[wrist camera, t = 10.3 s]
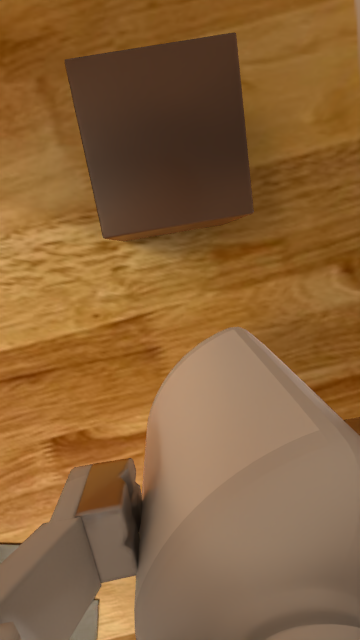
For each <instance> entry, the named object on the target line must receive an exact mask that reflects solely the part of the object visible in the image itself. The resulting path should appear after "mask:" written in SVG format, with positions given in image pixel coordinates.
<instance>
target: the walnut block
mask: <svg viewBox="0 0 360 640" xmlns="http://www.w3.org/2000/svg"><path fill="white" fill-rule="evenodd" d="M65 66H66V71H67V75H68V80H69V85H70V89H71V94H72V98H73V103H74V107H75V112H76V116H77V121H78V125H79V130H80V135H81V139H82V144H83V148H84V153H85V157H86V162H87V166H88V171H89V176H90V180H91V185H92V189H93V194H94V198H95V203H96V207H97V212H98V216H99V221H100V226H101V230H102V235H103V238H105V239H111V240H118V241H129V240H135V239H141V238H147V237H153V236H159V235H165V234H171V233H177V232H183V231H188V230H194V229H200V228H206V227H212V226H218V225H223V224H226V223H229V222H231V221H234V220H237V219H239V218H242V217H245V216H247V215H250V214H252V213H253V212H254V210H253V200H252V190H251V180H250V170H249V160H248V149H247V139H246V129H245V119H244V109H243V99H242V88H241V78H240V68H239V58H238V48H237V38H236V33H229V34H222V35H216V36H210V37H204V38H197V39H191V40H185V41H178V42H172V43H166V44H160V45H153V46H147V47H141V48H135V49H128V50H122V51H116V52H109V53H103V54H97V55H91V56H84V57H78V58H72V59H66V60H65Z"/></svg>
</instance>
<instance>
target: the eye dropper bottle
mask: <svg viewBox="0 0 360 640" xmlns="http://www.w3.org/2000/svg"><path fill="white" fill-rule="evenodd" d="M139 537H140V542H139V557H138V570H137V574H136V590H135V608H134V611H135V634H136V640H360V436H359V435H358V434H357V433H356V432H355V431H354V430H353V429H352V428H351V427H350V426H349V425H348V424H347V423H346V422H345V421H344V420H343V419H342V418H341V417H340V416H339V415H337V414H336V413H335V412H334V411H333V410H332V409H331V408H330V407H329V406H328V405H327V404H326V403H325V402H324V401H323V400H322V399H321V398H320V397H319V396H318V395H317V394H316V393H315V392H314V391H313V390H311V389H310V388H309V387H308V386H307V385H306V384H305V383H304V382H303V381H302V380H301V379H300V378H299V377H298V376H297V375H296V374H295V373H294V372H293V371H292V370H291V369H289V368H288V367H287V366H286V365H285V364H284V363H283V362H282V361H281V360H280V359H279V358H278V357H277V356H276V355H275V354H274V353H273V352H272V351H270V350H269V349H268V348H267V347H266V346H265V345H264V344H263V343H262V342H260V341H259V340H258V339H257V338H256V337H255V336H253V335H252V334H251V333H250V332H248V331H247V330H245V329H243V328H241V327H232V328H227V329H225V330H223V331H220V332H218V333H216V334H214V335H213V336H211V337H209V338H208V339H206V340H204V341H203V342H201V343H200V344H198V345H197V346H196V347H194V348H193V349H192V350H191V351H190V352H188V353H187V354H186V355H185V356H184V357H183V358H182V359H181V360H180V361H179V362H178V363H177V364H176V365H175V367H174V368H173V369H172V370H171V372H170V373H169V374H168V376H167V377H166V379H165V380H164V382H163V384H162V385H161V387H160V389H159V391H158V393H157V395H156V397H155V400H154V402H153V405H152V407H151V410H150V414H149V418H148V424H147V436H146V449H145V461H144V474H143V487H142V515H141V524H140V529H139Z"/></svg>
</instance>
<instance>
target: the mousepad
mask: <svg viewBox="0 0 360 640" xmlns="http://www.w3.org/2000/svg"><path fill="white" fill-rule="evenodd" d="M19 546H20V545H0V564H1V563H2V562H3V561H4V560H5V559H6V558H7V557H8V556H9V555H10V554H11V553H12V552H14V551H15V550H16V549H17V548H18V547H19ZM93 600H94V599H93ZM97 608H98V600H95V601H92V602H91V604H90V606H89V607H88V609H87V611H86V613H85V614H84V616H83V618H82V619H81V621H80V623H79V624H78V626H77V628H76V629H75V631H74V633H73V634H72V636H71V638H70V639H69V640H96V635H97V618H98V609H97Z"/></svg>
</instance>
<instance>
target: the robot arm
mask: <svg viewBox="0 0 360 640" xmlns="http://www.w3.org/2000/svg"><path fill="white" fill-rule="evenodd" d="M344 421H345V422H346V423H347V424H348V425H349V426H350V427H351V428H352V429H353V430H354V431H355V432H356V433H357V434H358V435H359V436H360V417H356V418H351V419H346V420H344ZM135 477H136V469H135V465H134V461H133V460H132V458H128V459H121V460H115V461H109V462H102V463H96V464H90V465H85V466H79V467H75V468H73V469H72V470H71V471H70V474H69V476H68V479H67V481H66V483H65V486H64V488H63V491H62V493H61V496H60V498H59V500H58V503H57V505H56V508H55V510H54V512H53V515H52V517H51V520H50V522H49V523H44V524H42V525H41V526H40V527H39V528H38V529H37V530H36V531H35V532H34V533H33V534H31V535H30V536H29V537H28V538H27V539H26V540H25V541H24V542H23V543H22V544H21V545H20V546H19V547H18V548H17V549H16V550H15V551H14V552H12V553H11V554H10V555H9V556H8V557H7V558H6V559H5V560H4V561H3V562H2V563H1V564H0V640H69V639H70V638H71V636H72V634H73V633H74V631H75V629H76V628H77V626H78V624H79V623H80V621H81V619H82V618H83V616H84V614H85V613H86V611H87V609H88V607H89V606H90V604H91V602H92V601H93V599H94V597H95V596H96V594H97V592H98V591H99V589H100V587H101V583H103V582H107V581H112V580H116V579H121V578H125V577H130V576H135V575H136V574H137V570H138V557H139V542H140V537H139V529H140V524H141V515H142V495H141V490H140V485H138V484H137V483H136V482H135Z"/></svg>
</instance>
